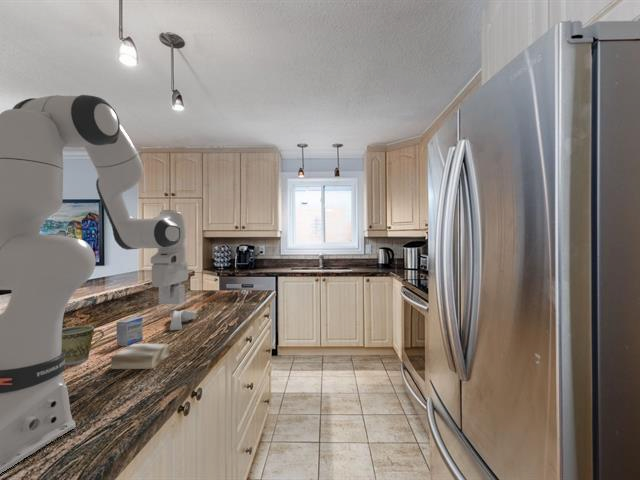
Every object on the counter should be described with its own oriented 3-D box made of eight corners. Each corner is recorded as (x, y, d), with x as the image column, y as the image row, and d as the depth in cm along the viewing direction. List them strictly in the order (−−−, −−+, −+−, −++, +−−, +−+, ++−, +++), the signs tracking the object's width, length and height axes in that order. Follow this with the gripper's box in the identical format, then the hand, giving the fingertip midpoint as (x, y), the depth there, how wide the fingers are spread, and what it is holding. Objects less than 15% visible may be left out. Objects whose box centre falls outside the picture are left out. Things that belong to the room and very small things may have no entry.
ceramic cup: (46, 369, 94) (46, 335, 94) (64, 357, 103) (63, 326, 103) (97, 364, 97) (97, 332, 97) (109, 353, 107) (109, 323, 107)
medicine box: (126, 346, 114) (126, 322, 114) (116, 345, 115) (116, 321, 115) (143, 339, 122) (143, 317, 122) (133, 339, 123) (132, 316, 123)
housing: (179, 304, 109) (179, 285, 109) (158, 304, 109) (158, 285, 109) (184, 301, 114) (184, 284, 114) (165, 301, 114) (165, 284, 114)
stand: (152, 368, 94) (151, 355, 94) (111, 368, 94) (111, 355, 94) (169, 355, 105) (169, 343, 105) (133, 355, 105) (133, 343, 105)
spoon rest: (172, 318, 156) (172, 304, 156) (198, 317, 159) (198, 302, 159) (161, 332, 133) (161, 314, 133) (191, 329, 136) (191, 313, 136)
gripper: (176, 256, 122) (176, 292, 122) (147, 258, 101) (147, 302, 101) (192, 255, 122) (192, 292, 122) (167, 258, 101) (167, 301, 101)
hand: (172, 296), depth 111 cm, fingers closed on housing, 4 cm apart
